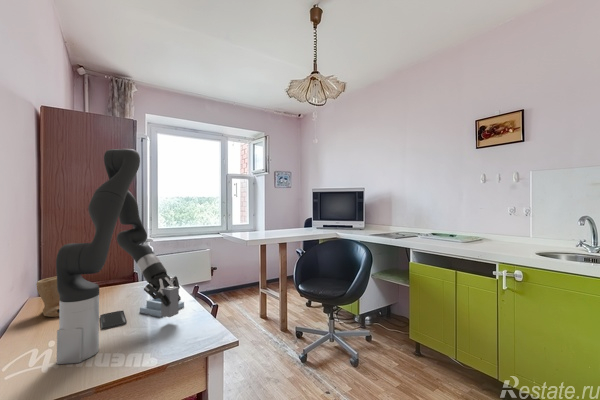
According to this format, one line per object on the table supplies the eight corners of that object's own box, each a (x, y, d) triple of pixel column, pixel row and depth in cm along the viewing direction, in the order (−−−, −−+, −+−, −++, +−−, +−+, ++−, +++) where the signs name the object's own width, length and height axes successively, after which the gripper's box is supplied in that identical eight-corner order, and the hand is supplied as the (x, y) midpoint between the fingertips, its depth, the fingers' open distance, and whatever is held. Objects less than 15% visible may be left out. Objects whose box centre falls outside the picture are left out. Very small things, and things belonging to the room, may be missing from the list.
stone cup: (36, 311, 114) (37, 275, 114) (73, 304, 122) (73, 271, 122) (35, 322, 103) (35, 283, 103) (75, 314, 111) (76, 277, 111)
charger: (178, 313, 103) (178, 286, 104) (169, 317, 100) (170, 289, 100) (170, 311, 105) (170, 285, 105) (161, 315, 101) (161, 287, 102)
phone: (123, 310, 113) (127, 322, 101) (123, 312, 113) (127, 325, 101) (99, 314, 108) (100, 328, 96) (99, 317, 108) (100, 331, 96)
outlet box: (184, 306, 119) (184, 296, 119) (160, 317, 108) (160, 305, 108) (164, 302, 123) (164, 292, 123) (139, 312, 112) (139, 301, 112)
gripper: (139, 265, 99) (163, 303, 94) (171, 258, 112) (193, 291, 107) (129, 278, 101) (152, 316, 96) (162, 270, 114) (183, 303, 109)
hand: (173, 302), depth 102 cm, fingers closed on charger, 4 cm apart
